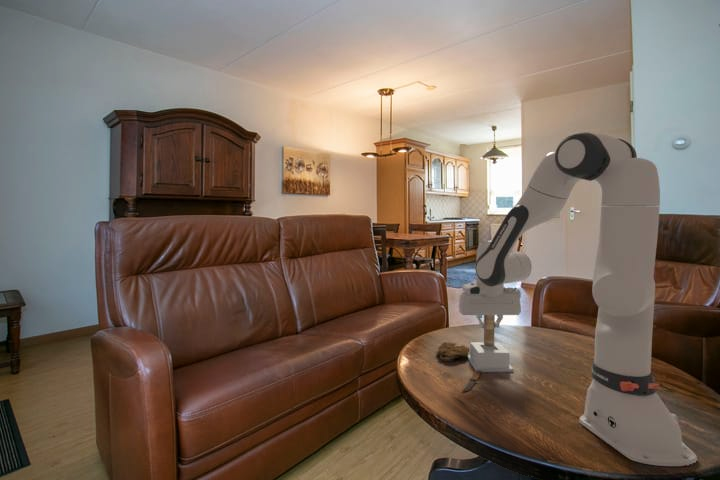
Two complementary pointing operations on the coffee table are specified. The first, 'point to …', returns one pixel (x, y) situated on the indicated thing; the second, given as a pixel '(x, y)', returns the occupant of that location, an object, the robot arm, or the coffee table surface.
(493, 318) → the peg
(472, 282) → the robot arm
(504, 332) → the coffee table surface
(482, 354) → the socket
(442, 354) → the decorative rock
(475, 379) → the knife
